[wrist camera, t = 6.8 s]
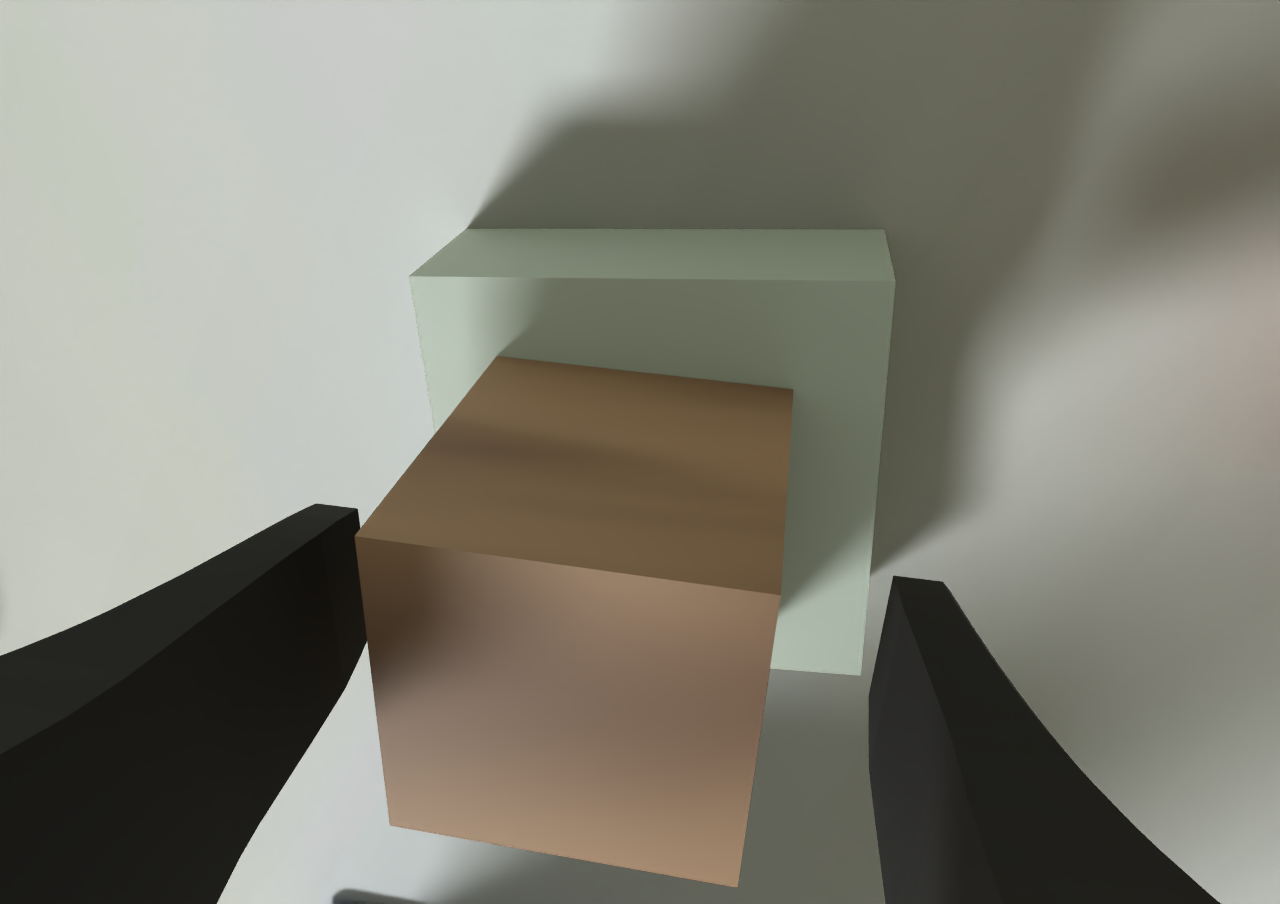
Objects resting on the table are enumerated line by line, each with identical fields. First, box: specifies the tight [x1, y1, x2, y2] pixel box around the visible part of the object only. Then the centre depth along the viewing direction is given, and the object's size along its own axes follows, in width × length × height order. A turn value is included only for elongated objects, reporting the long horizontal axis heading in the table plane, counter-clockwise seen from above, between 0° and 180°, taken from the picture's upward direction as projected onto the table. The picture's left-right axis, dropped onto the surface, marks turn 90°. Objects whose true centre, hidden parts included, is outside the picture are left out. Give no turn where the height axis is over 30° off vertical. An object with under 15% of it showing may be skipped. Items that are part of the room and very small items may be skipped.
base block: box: [409, 229, 896, 676], centre depth 16 cm, size 7×7×3 cm
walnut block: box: [355, 356, 794, 888], centre depth 13 cm, size 4×4×5 cm
